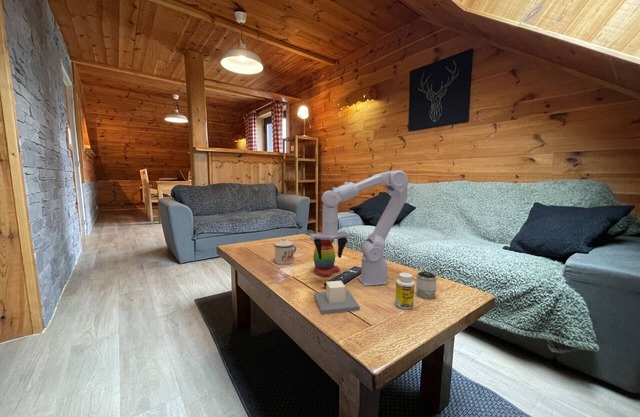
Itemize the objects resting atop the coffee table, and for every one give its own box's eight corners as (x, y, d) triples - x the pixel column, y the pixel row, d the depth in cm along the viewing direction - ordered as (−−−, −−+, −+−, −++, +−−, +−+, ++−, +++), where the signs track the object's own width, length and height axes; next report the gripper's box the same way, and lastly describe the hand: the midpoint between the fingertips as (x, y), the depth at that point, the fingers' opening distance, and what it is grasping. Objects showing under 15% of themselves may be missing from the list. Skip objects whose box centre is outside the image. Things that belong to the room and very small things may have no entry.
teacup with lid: (282, 266, 119) (282, 241, 117) (270, 262, 125) (270, 238, 123) (302, 260, 127) (302, 237, 126) (289, 256, 134) (289, 234, 132)
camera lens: (430, 301, 86) (431, 278, 85) (412, 295, 91) (413, 273, 90) (438, 295, 91) (439, 273, 90) (420, 289, 95) (422, 268, 94)
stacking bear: (327, 278, 106) (327, 234, 103) (307, 272, 112) (307, 231, 109) (341, 270, 114) (342, 230, 112) (323, 265, 120) (323, 227, 118)
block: (340, 294, 88) (340, 280, 87) (345, 301, 83) (345, 286, 83) (326, 296, 87) (326, 281, 86) (329, 303, 82) (330, 288, 82)
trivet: (347, 293, 92) (347, 289, 92) (359, 310, 80) (359, 306, 80) (314, 296, 90) (314, 292, 89) (321, 314, 78) (321, 310, 78)
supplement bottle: (400, 310, 80) (402, 278, 79) (391, 302, 86) (393, 272, 84) (417, 308, 82) (418, 277, 80) (407, 300, 87) (408, 270, 86)
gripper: (313, 225, 93) (313, 262, 94) (352, 223, 96) (351, 259, 97) (309, 221, 99) (309, 256, 101) (346, 220, 102) (345, 254, 104)
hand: (329, 257), depth 100 cm, fingers open, 7 cm apart
